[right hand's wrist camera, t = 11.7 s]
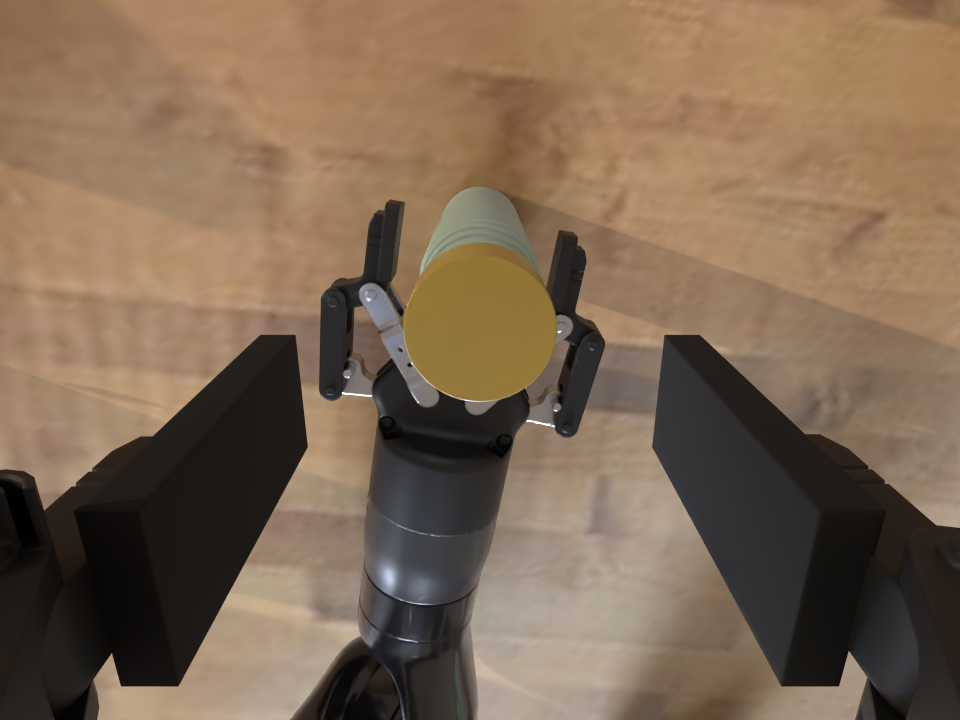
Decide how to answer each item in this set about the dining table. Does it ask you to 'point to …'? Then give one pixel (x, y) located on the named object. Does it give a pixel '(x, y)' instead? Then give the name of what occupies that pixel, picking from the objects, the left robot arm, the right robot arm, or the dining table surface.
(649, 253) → the dining table surface
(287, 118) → the dining table surface
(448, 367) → the cap
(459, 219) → the bottle
